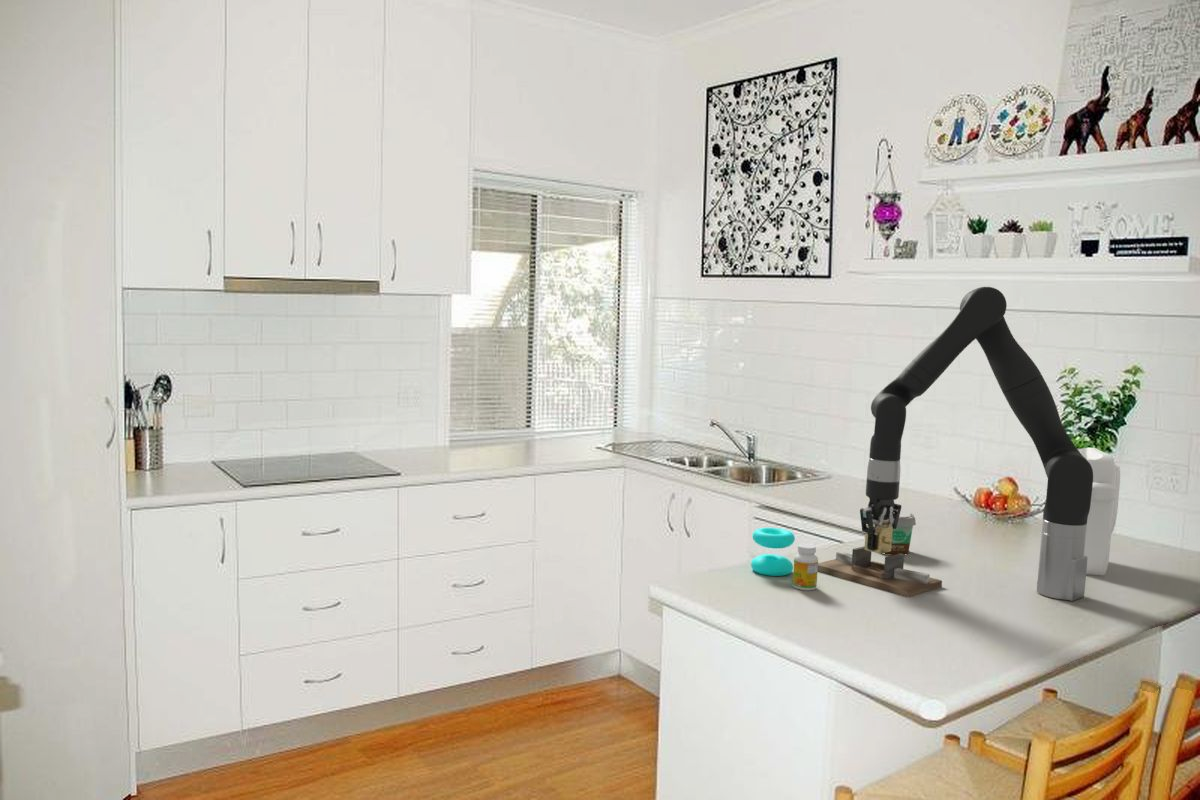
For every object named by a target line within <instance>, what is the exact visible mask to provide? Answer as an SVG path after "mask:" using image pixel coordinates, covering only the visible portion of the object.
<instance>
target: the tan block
mask: <svg viewBox="0 0 1200 800" xmlns="http://www.w3.org/2000/svg"><path fill="white" fill-rule="evenodd" d="M867 526H868V524H866V527H867ZM873 528H875V525H873ZM892 531H893V527H892V526H887V525H884V524H882V526H880V527H879V530H878V539H877V550H875V551H872V550H869V549H868V548H867V541H868V534H867V533H866V532H865V535H864V546H865V548H864V550H868V551H871V553H876V554H879V555H883V554H882V553H886V552H890V551H891V544H892Z"/></svg>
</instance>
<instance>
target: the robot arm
mask: <svg viewBox="0 0 1200 800" xmlns="http://www.w3.org/2000/svg"><path fill="white" fill-rule="evenodd" d="M1006 311H1007V300H1006V296H1005V295H1004V294H1003V293H1002V292H1001V291H1000V290H999V289H998V288H995V287H991V286H981V287H978V288H974V289H972V290H971V291H969V292H967V293H966V294H965V295H964V296H963V297H962V299H961V301H960V305H959V311H958V313H957V314H956V316H955V318H954V319H953V320H952V321H951V323H949V325H948V326H947V327H946V328H945V329H944V330H943V331H942V332H941V333H940V334H939V335H938V336H937V337H936V338H935V339H934V340H932V342H930V343H929V344H928V345H927V346H925V348H924V349H923V350H921V351H920V352H919V353H918V354H917V355H916V356H915V357H914V358H913V359H912V360H911V362H910V363H909V364H908V365H907V366H906V367H905V368H904V369H903V370H902V371H901V373H899V375H897V377H896V378H895V379H893V380H891V382H889V384H887V385H886V386H884V388H883V389H881V390H880V392H878V394H876V396H875V397H874V398H873V400H872V401H871V405H870V410H871V414H872V416H873V417H874V418H875V419H874V420H875V421H874V430H873V431H874V433H873V435H871V436H872V437H871V439H870V444H869V455H868V457H869V458H868V464H867V470H866V484H865V496H866V497H868V499H869V501H868V505H867V507H866V508H863V507H861V508H860V510H859V513H860V523H861V531H862V532H864V533H865V534H866V533H867V534H868V541H867V548H868V549H869V550H872V551H875V550H877V539H878V530H879V527H880V526H882V524H884V525H887V526H892V527H893V529H896V528H897V524H898V520H899V517H900V515H901V511H902V504H898V503H896V502H895V500H898V498H899V497H900V496H899V495H900V481H901V479H900V478H901V454H902V453H901V451H902V438H903V435H904V431H905V426H906V425H905V424H906V421H907V406H908V405H910V403H912V402H913V401H914V399H916V398H918V397H920V396H922V395H923V394H925V392H927V390H928V389H929V388H930V387H931V386H932V385H933V384H934V383H935V382H936V381H937V380H938V379H939V378H940V377H941V375H943V373H944V372H945V371H946V370H947V369H948V367H949V366H951V364H952V363H953V362H954V361H955V360H956V359H957V358H958V356H959V355H960V354H961V353H963V351H964V350H965V349H967V347H968V346H969V345H970V344H971V343H972V342H973V341H975V340H976V341H977V342H978V344H979V346H980V348H981V349H982V351H983V352H984V355H985V357H986V358H987V361H988V364H989V366H990V368H991V371H992V373H993V375H994V377H995V379H996V382H997V384H998V385H999V388H1000V389H1001V392H1002V394H1003V396H1004V398H1005V400H1006V402H1007V404H1008V405H1009V407H1010V408H1011V410H1012V411H1013V414H1014V416H1016V418H1017V420H1018V421H1019V423H1020V424H1021V425H1022V427H1023V428H1024V430H1025V431H1026V433H1027V434H1028V435H1029V437H1030V438H1031V440H1032V442H1033V444H1034V446H1035V448H1036V451H1037V453H1038V455H1039V458H1040V461H1041V464H1042V466H1043V469H1044V472H1045V475H1046V477H1047V484H1046V496H1045V497H1046V498H1045V503H1044V507H1043V511H1042V512H1043V513H1042V523H1041V524H1042V526H1041V534H1040V535H1041V536H1040V546H1039V547H1040V548H1039V558H1038V559H1039V560H1038V561H1039V562H1038V570H1037V571H1038V572H1037V581H1036V592H1037V593H1038V594H1039V595H1042V596H1044V597H1048V598H1050V599H1051V598H1052V599H1056V600H1065V601H1070V602H1074V601H1076V600H1078V599H1081V598H1084V597H1085V592H1086V591H1085V590H1086V579H1087V574H1086V570H1087V559H1088V557H1087V556H1084V551H1085V539H1086V528H1087V518H1088V514H1089V511H1090V505H1091V496H1092V486H1093V469H1092V467H1091V465H1090V463H1089V462H1088V461H1087V460H1086V459H1085V458H1084V457H1083V456H1082V454H1081V453H1080V452H1079V451H1078V449H1079V448H1077V446H1076V445H1075V443H1074V442H1073V441H1072V439H1071V437H1070V436H1069V434H1068V432H1067V430H1066V429H1065V428H1064V425H1063V423H1062V420H1061V418H1060V414H1059V411H1058V408H1057V405H1056V402H1055V400H1054V397H1053V395H1052V392H1051V389H1050V387H1049V386H1048V383H1047V382H1046V381H1045V379H1044V377H1043V374H1042V372H1041V371H1040V369H1039V368H1038V367H1037V365H1036V363H1035V362H1034V360H1032V358H1031V357H1030V356H1029V355H1028V353H1027V352H1026V351H1025V350H1024V349H1023V347H1022V346H1021V345H1020V344H1019V343H1018V341H1017V340H1016V338H1014V335H1013V334H1012V332H1011V330H1010V327H1009V326H1008V324H1007V321H1006V318H1005V314H1006ZM893 518H894V521H893ZM873 520H877V522H875V521H873ZM892 522H893V523H892ZM885 523H886V524H885ZM866 525H868V526H867V527H866ZM873 525H875V528H873Z"/></svg>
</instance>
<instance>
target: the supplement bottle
mask: <svg viewBox="0 0 1200 800" xmlns="http://www.w3.org/2000/svg"><path fill="white" fill-rule="evenodd" d="M816 551H817V548H816V545H814V544H811V543H799V544H797V553H796V554H795V555H794V558H793V559H794V560H793V570H792V571H793V573H792V574H793V575H792V587H793V588H794V589H797V590H801V591H813V590H816V589H817V584H818V583H817V582H818V572H819V571H818V563H819V557H818V556H817V555H816V554H815V553H816Z"/></svg>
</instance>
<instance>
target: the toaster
mask: <svg viewBox="0 0 1200 800" xmlns="http://www.w3.org/2000/svg"><path fill="white" fill-rule="evenodd" d="M1077 449H1078V451H1079V452H1080V453H1081V454H1082V456H1083V457H1084V458H1085V459H1086V460H1087V461H1088V462H1089V463H1090V465H1091V467H1092V469H1093V486H1092V496H1091V505H1090V511H1089V514H1088V518H1087V528H1086V539H1085V551H1084V556H1087V557H1088V559H1087V570H1086V575H1093V576H1105V575H1106V573H1107V569H1108V566H1109V560H1110V559H1109V558H1110V552H1111V541H1112V534H1113V532H1114V531H1115V526H1116V523H1117V518H1118V507H1119V496H1120V488H1121V487H1120V485H1121V469H1120V466H1119V465H1117V464H1116V462H1115V460H1114V458H1113V457H1112V456H1111V454H1108V453H1106V452H1104V451H1102V450H1100V449H1099V448H1096V447H1089V446H1088V447H1082V448H1077Z"/></svg>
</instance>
